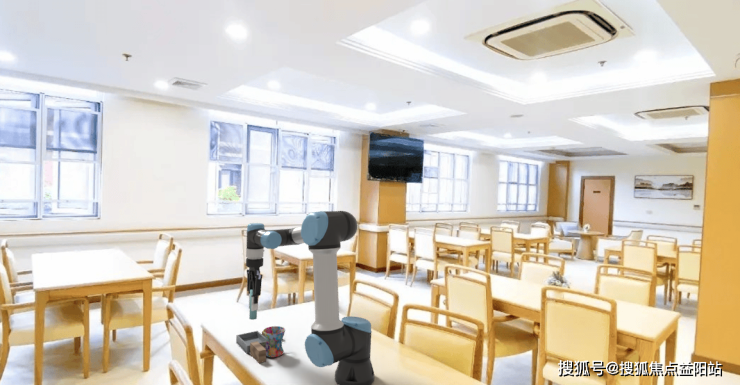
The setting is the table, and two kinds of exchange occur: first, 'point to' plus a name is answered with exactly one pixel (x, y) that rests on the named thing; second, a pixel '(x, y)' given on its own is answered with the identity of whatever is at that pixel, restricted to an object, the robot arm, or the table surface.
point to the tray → (250, 340)
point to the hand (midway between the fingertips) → (253, 309)
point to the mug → (274, 341)
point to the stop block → (258, 352)
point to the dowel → (252, 313)
